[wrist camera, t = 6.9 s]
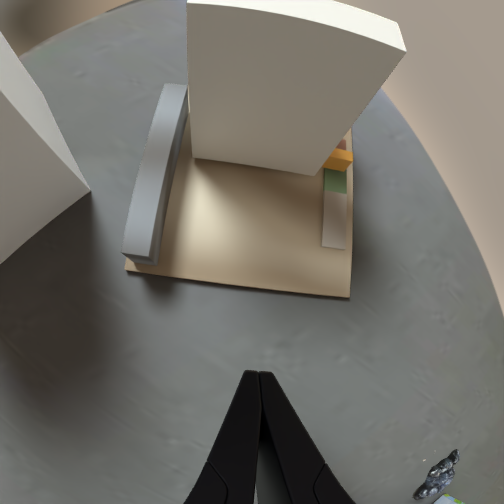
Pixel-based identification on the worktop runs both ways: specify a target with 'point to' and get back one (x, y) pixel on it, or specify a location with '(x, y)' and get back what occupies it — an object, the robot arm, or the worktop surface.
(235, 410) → the robot arm
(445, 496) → the snack box
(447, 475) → the blueberries
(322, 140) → the white rectangular slab
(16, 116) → the milk
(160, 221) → the gauge bench
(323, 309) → the worktop surface
